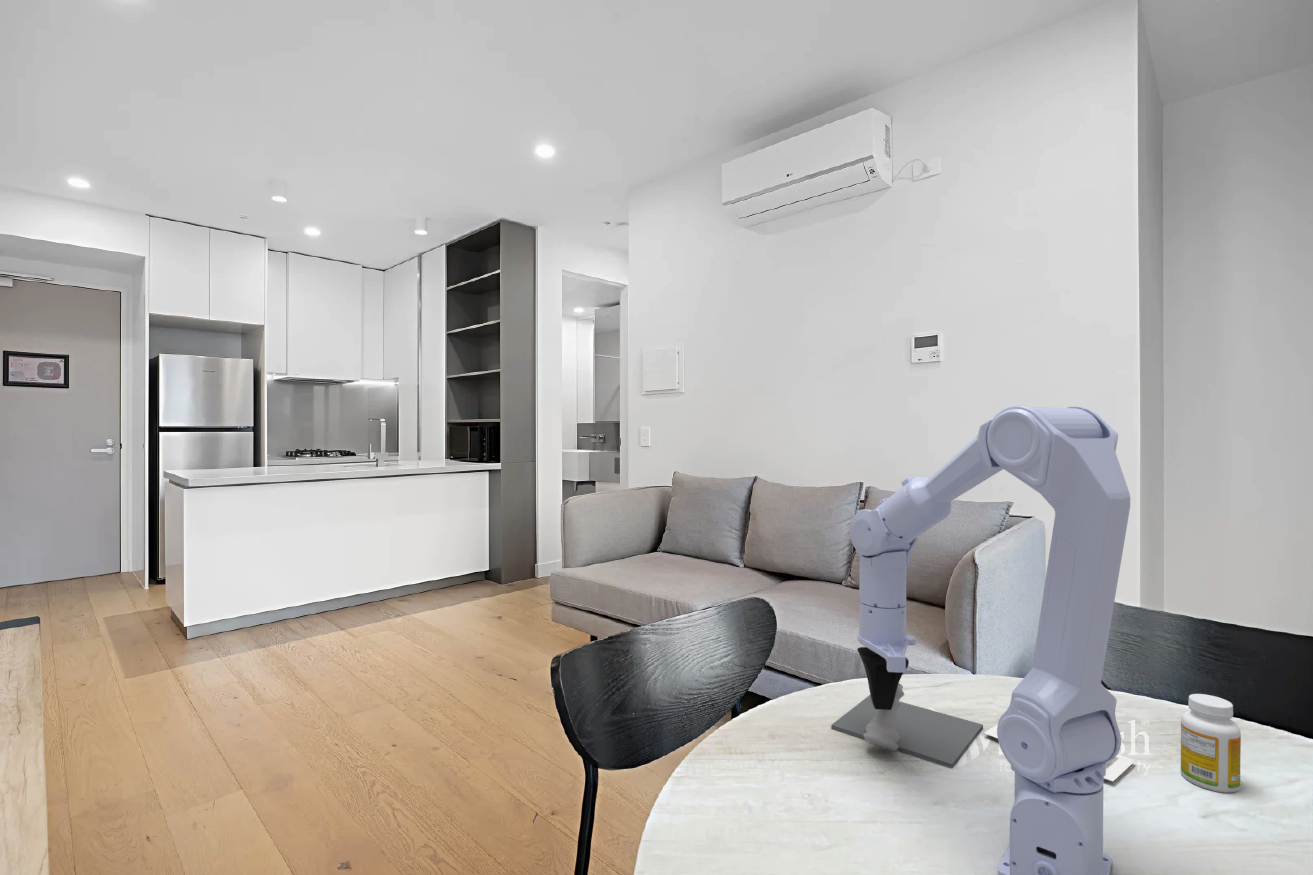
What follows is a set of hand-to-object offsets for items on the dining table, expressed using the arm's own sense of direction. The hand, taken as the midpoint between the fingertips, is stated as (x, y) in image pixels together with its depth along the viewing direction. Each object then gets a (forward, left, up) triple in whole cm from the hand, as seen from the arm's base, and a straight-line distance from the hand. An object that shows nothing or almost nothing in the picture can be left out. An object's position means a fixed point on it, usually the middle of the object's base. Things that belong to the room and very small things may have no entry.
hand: (882, 707), depth 83 cm
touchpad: (+15, -17, -7) cm, 24 cm away
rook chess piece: (-1, 0, -5) cm, 5 cm away
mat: (+9, 0, -6) cm, 11 cm away
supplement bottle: (+19, -32, -6) cm, 38 cm away
